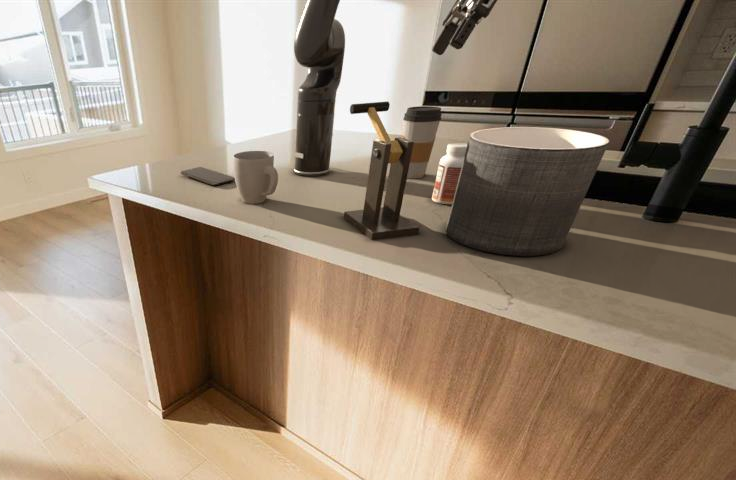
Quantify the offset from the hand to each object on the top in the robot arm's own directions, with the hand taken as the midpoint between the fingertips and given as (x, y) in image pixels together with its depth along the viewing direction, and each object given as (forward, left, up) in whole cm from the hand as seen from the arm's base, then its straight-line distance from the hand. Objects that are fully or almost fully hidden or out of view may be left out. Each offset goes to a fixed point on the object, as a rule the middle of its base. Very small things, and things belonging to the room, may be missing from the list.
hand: (445, 50), depth 75 cm
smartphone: (-35, -39, -27) cm, 59 cm away
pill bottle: (+2, +7, -27) cm, 28 cm away
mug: (-11, -31, -27) cm, 43 cm away
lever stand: (+11, -13, -27) cm, 32 cm away
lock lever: (+6, -13, -12) cm, 19 cm away
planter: (+22, +4, -27) cm, 35 cm away
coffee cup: (-19, +11, -27) cm, 35 cm away
